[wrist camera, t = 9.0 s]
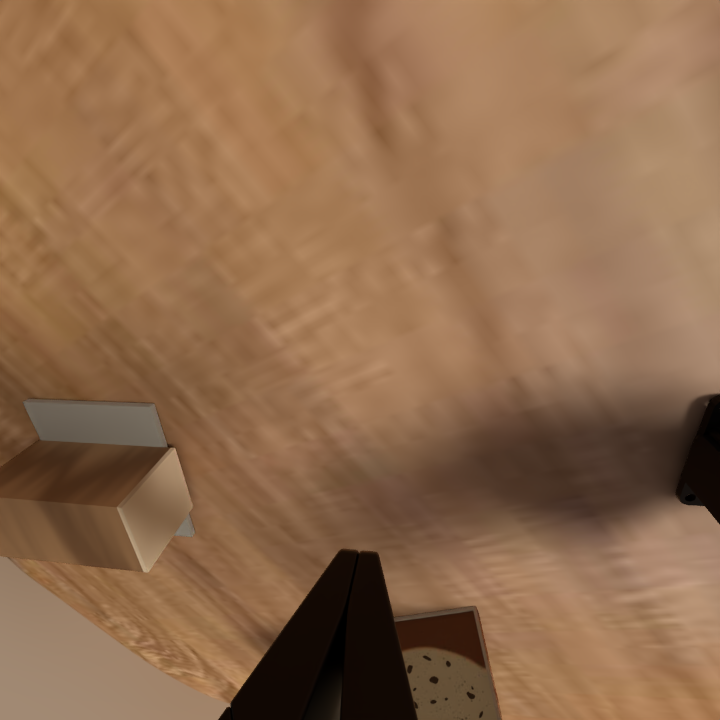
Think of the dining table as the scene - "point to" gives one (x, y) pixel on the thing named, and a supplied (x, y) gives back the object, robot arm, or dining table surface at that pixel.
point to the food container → (448, 665)
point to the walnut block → (92, 504)
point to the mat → (100, 427)
